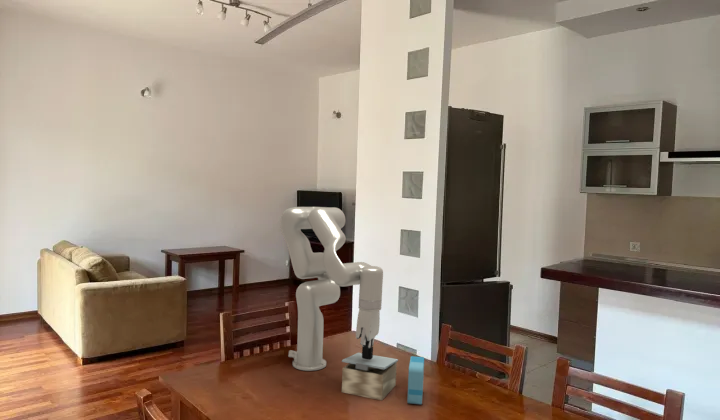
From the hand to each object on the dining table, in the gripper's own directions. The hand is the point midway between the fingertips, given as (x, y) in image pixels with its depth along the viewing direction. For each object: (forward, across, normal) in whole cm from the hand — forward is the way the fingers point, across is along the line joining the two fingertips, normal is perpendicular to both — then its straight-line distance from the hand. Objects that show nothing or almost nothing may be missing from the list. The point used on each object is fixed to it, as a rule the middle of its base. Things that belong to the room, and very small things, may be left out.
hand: (367, 358), depth 168 cm
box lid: (+3, -1, 0) cm, 3 cm away
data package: (+11, -2, +17) cm, 20 cm away
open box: (+11, -2, +1) cm, 11 cm away
